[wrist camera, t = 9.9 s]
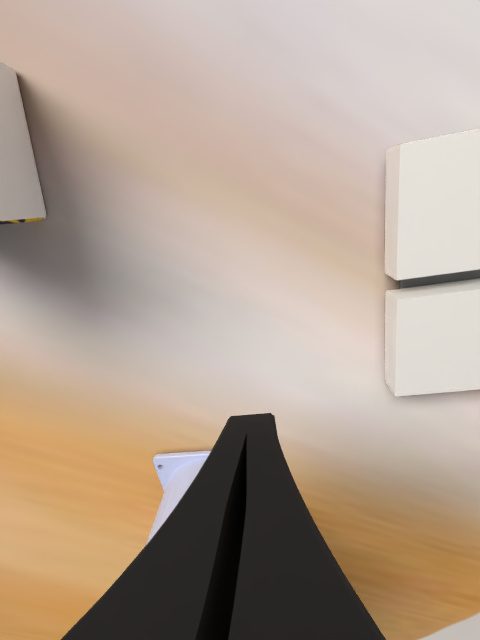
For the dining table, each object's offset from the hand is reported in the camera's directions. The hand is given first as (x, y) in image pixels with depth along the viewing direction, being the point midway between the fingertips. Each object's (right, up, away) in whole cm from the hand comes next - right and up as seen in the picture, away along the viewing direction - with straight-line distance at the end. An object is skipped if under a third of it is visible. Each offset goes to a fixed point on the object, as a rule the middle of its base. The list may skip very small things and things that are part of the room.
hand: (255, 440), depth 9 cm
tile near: (+7, +9, +5) cm, 12 cm away
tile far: (+8, +2, +8) cm, 11 cm away
